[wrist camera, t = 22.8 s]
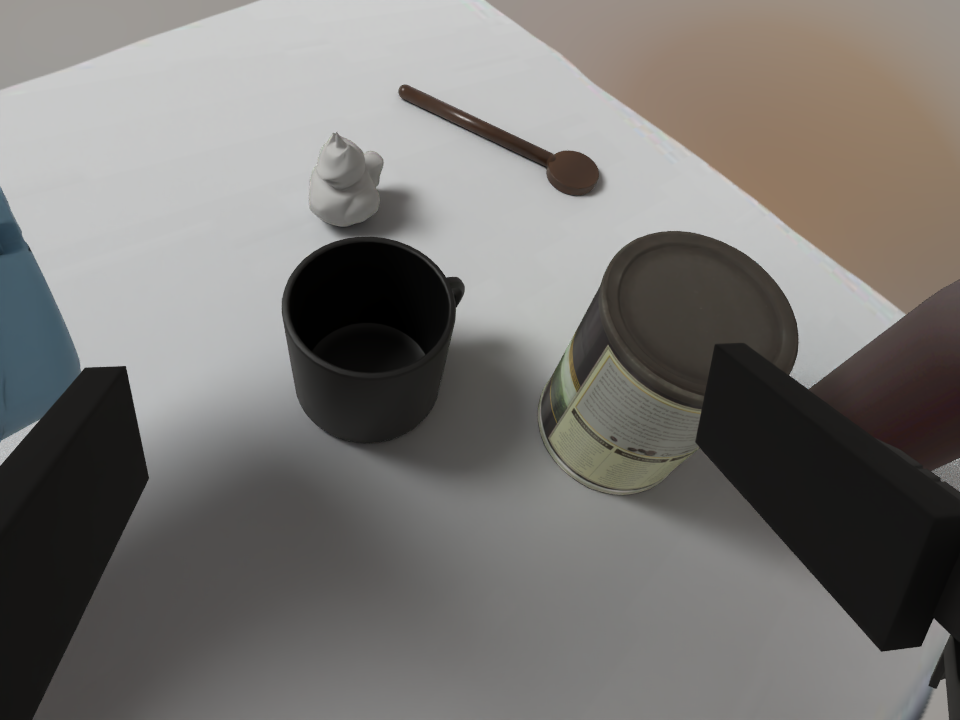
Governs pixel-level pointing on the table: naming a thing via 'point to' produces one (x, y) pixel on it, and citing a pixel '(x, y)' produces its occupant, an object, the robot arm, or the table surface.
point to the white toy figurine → (345, 183)
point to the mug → (368, 336)
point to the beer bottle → (907, 382)
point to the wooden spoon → (517, 145)
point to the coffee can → (656, 357)
